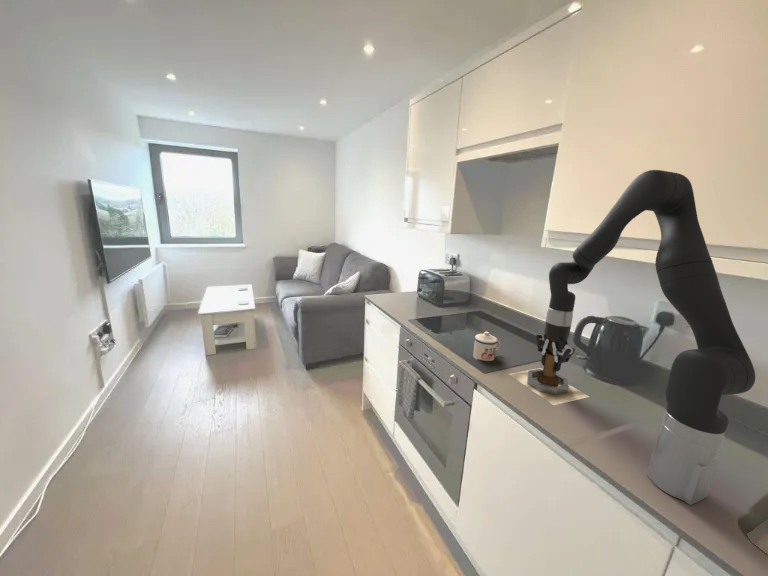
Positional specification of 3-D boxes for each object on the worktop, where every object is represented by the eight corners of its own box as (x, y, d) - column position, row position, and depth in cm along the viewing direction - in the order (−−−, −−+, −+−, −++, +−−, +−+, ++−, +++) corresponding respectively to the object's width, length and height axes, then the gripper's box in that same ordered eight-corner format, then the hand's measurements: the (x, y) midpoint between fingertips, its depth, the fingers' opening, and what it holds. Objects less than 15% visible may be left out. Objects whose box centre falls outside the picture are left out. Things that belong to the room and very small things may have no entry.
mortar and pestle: (556, 389, 103) (565, 339, 99) (535, 383, 107) (543, 334, 103) (559, 381, 108) (567, 334, 104) (539, 375, 112) (546, 329, 108)
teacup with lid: (481, 364, 123) (485, 337, 120) (468, 354, 131) (470, 329, 128) (505, 360, 127) (509, 334, 124) (490, 351, 135) (493, 326, 132)
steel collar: (575, 391, 104) (576, 384, 104) (547, 397, 100) (549, 390, 99) (545, 373, 116) (546, 367, 115) (519, 378, 111) (520, 372, 111)
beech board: (588, 399, 102) (589, 396, 102) (552, 408, 96) (553, 405, 96) (540, 370, 120) (540, 367, 120) (507, 376, 114) (508, 373, 114)
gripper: (586, 328, 97) (576, 376, 101) (549, 314, 110) (541, 357, 114) (569, 330, 94) (559, 380, 98) (533, 315, 107) (525, 360, 111)
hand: (549, 367), depth 106 cm, fingers closed on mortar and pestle, 4 cm apart
